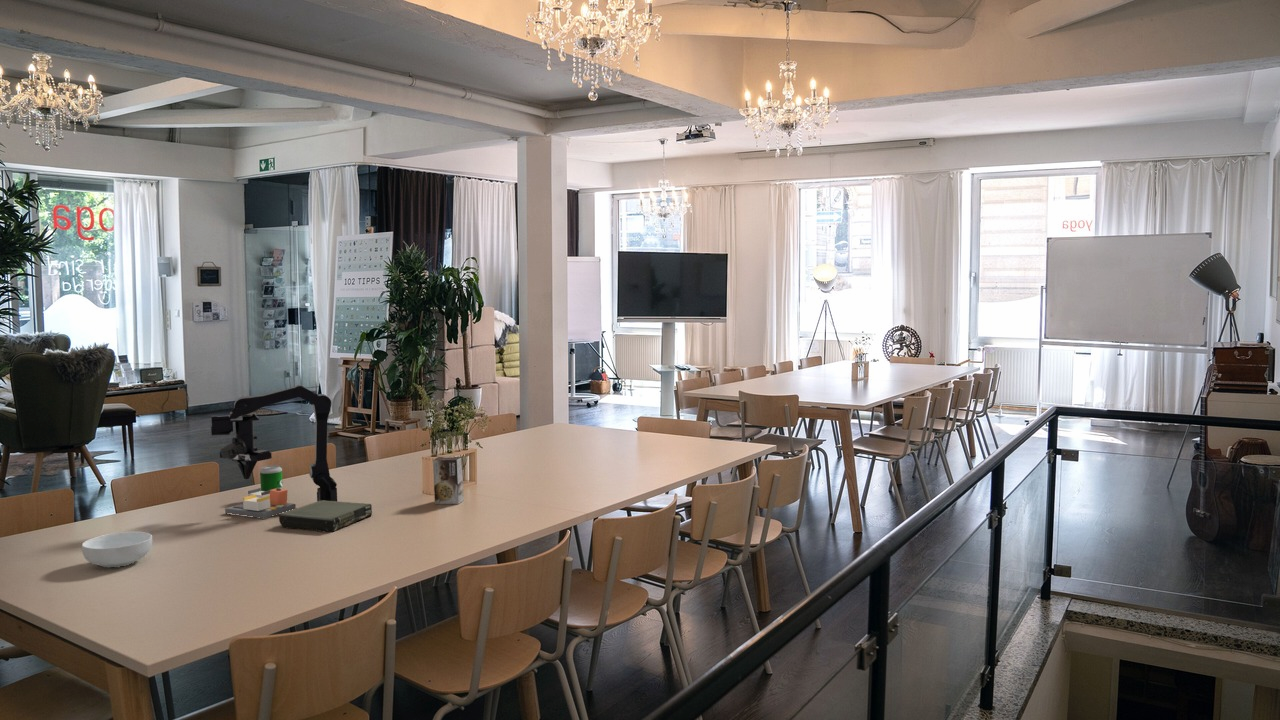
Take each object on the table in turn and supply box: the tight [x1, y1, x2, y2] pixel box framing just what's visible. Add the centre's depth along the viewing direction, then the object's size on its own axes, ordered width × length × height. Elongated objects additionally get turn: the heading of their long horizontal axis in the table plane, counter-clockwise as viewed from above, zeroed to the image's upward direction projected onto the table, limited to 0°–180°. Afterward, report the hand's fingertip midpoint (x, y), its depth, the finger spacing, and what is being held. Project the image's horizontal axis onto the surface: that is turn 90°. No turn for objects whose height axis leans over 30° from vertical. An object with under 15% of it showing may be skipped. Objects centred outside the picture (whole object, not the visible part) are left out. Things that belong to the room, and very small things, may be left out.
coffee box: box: [432, 456, 464, 505], centre depth 313 cm, size 9×6×16 cm
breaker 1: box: [247, 487, 270, 498], centre depth 308 cm, size 7×5×4 cm
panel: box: [224, 502, 296, 519], centre depth 303 cm, size 18×14×2 cm
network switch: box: [278, 500, 373, 533], centre depth 287 cm, size 23×23×5 cm
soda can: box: [259, 465, 284, 491], centre depth 322 cm, size 8×8×12 cm
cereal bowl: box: [81, 531, 153, 568], centre depth 244 cm, size 17×17×7 cm
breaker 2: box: [242, 494, 270, 511], centre depth 298 cm, size 7×5×4 cm
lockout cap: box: [270, 488, 288, 506], centre depth 304 cm, size 4×4×6 cm
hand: (246, 479), depth 299 cm, fingers closed
